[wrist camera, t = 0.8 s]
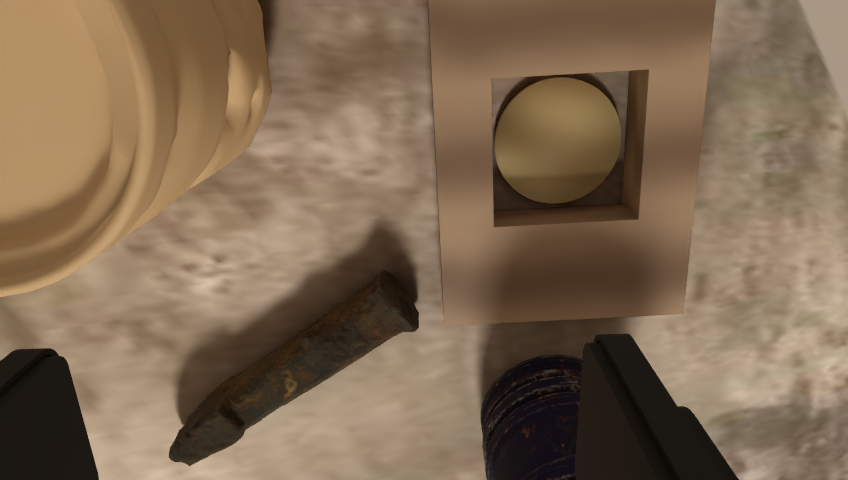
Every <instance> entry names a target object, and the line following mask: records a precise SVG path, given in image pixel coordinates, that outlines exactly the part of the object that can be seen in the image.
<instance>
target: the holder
mask: <svg viewBox="0 0 848 480" xmlns="http://www.w3.org/2000/svg"><path fill="white" fill-rule="evenodd" d="M715 3H716V0H428V16H429V36H430V56H431V75H432V95H433V115H434V135H435V155H436V175H437V195H438V215H439V235H440V254H441V274H442V294H443V311H444V326H455V325H475V324H495V323H515V322H535V321H554V320H574V319H594V318H614V317H634V316H654V315H673V314H683V312H684V302H685V292H686V283H687V273H688V263H689V254H690V244H691V234H692V225H693V215H694V205H695V196H696V186H697V176H698V167H699V157H700V147H701V138H702V128H703V118H704V109H705V99H706V89H707V80H708V70H709V61H710V51H711V41H712V32H713V22H714V12H715ZM614 71H630V74H629V90H628V107H627V124H626V141H625V157H624V174H623V191H622V204H612V205H593V206H575V207H556V208H537V209H519V210H500V211H493V155H492V97H491V79H494V78H511V77H528V76H545V75H563V74H580V73H597V72H614ZM620 147H621V125H620V121H619V117H618V114H617V112H616V110H615V108H614V106H613V105H612V103H611V101H610V100H609V99H608V98H607V97H606V95H605V94H603V93H602V92H601V91H600V90H599V89H597V88H596V87H594V86H593V85H591V84H589V83H586V82H584V81H581V80H578V79H574V78H568V77H554V78H548V79H544V80H540V81H538V82H535V83H533V84H531V85H529V86H527V87H526V88H524V89H523V90H521V91H520V92H519V93H518V94H516V95H515V96H514V97H513V98H512V99H511V101H510V102H509V103H508V104H507V105H506V107H505V109H504V110H503V112H502V114H501V116H500V118H499V120H498V123H497V126H496V130H495V135H494V153H495V158H496V161H497V164H498V167H499V169H500V171H501V173H502V175H503V177H504V178H505V179H506V181H507V182H508V183H509V185H510V186H511V187H512V188H513V189H515V190H516V191H517V192H518V193H520V194H521V195H523V196H525V197H527V198H529V199H531V200H534V201H538V202H542V203H551V204H557V203H565V202H569V201H573V200H576V199H578V198H581V197H583V196H585V195H587V194H588V193H590V192H591V191H593V190H594V189H595V188H597V187H598V186H599V185H600V184H601V183H602V182H603V181H604V180H605V179H606V178H607V176H608V175H609V173H610V172H611V170H612V169H613V167H614V165H615V163H616V160H617V158H618V155H619V151H620Z"/></svg>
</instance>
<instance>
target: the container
mask: <svg viewBox="0 0 848 480" xmlns="http://www.w3.org/2000/svg"><path fill="white" fill-rule="evenodd" d="M271 92H272V89H271V78H270V73H269V67H268V60H267V53H266V47H265V40H264V30H263V13H262V10H261V7H260V4H259V2H258V0H0V297H3V296H9V295H14V294H19V293H24V292H30V291H33V290H36V289H38V288H41V287H44V286H47V285H49V284H52V283H54V282H56V281H58V280H61V279H63V278H65V277H66V276H68V275H70V274H72V273H73V272H75V271H77V270H78V269H80V268H82V267H83V266H85V265H86V264H88V263H89V262H91V261H92V260H93V259H95V258H96V257H97V256H99V255H100V254H101V253H103V252H104V251H106V250H107V249H108V248H110V247H111V246H113V245H114V244H115V243H117V242H118V241H119V240H120V239H121V238H122V237H124V236H125V235H127V234H129V233H131V232H132V231H134V230H135V229H137V228H138V227H140V226H141V225H143V224H144V223H146V222H147V221H148V220H150V219H151V218H153V217H154V216H155V215H157V214H158V213H159V212H161V211H162V210H163V209H165V208H166V207H167V206H168V205H170V204H171V203H172V202H173V201H175V200H176V199H177V198H179V197H180V196H181V195H182V194H183V193H184V192H185V191H186V190H188V189H190V188H192V187H193V186H195V185H197V184H198V183H200V182H202V181H203V180H205V179H206V178H208V177H209V176H211V175H212V174H214V173H215V172H216V171H218V170H219V169H221V168H222V167H223V166H225V165H226V164H228V163H229V162H231V161H232V160H233V159H235V158H236V157H237V156H239V155H240V154H241V153H242V152H244V151H245V150H246V149H247V148H248V147H249V146H250V144H251V142H252V140H253V138H254V136H255V134H256V132H257V130H258V128H259V126H260V124H261V122H262V120H263V118H264V115H265V113H266V110H267V107H268V104H269V101H270V97H271Z"/></svg>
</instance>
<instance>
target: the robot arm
mask: <svg viewBox="0 0 848 480" xmlns="http://www.w3.org/2000/svg"><path fill="white" fill-rule="evenodd" d="M575 475H576V480H738V478H737V477H736V475H735V474H734V472H733V471H732V469H731V468H730V466H729V465H728V463H727V462H726V460H725V459H724V458H723V456H722V455H721V453H720V452H719V450H718V449H717V447H716V446H715V444H714V443H713V441H712V440H711V439H710V437H709V436H708V434H707V433H706V431H705V430H704V428H703V427H702V425H701V424H700V422H699V421H698V419H697V418H696V417H695V415H694V414H693V413H692V412H691V410H690V409H689V408H686V407H684V406H680V407H677V405H676V404H675V402H674V401H673V399H672V398H671V396H670V394H669V393H668V391H667V390H666V388H665V387H664V385H663V384H662V382H661V381H660V379H659V378H658V376H657V375H656V373H655V372H654V370H653V369H652V367H651V365H650V364H649V362H648V361H647V359H646V358H645V356H644V355H643V353H642V352H641V350H640V349H639V347H638V346H637V344H636V343H635V341H634V339H633V338H632V337H631V336H630V334H603V335H596V336H595V339H594V343H586V344H585V346H584V351H583V363H582V376H581V389H580V402H579V415H578V428H577V441H576V454H575ZM0 480H99V477H98V472H97V468H96V464H95V461H94V457H93V453H92V450H91V446H90V443H89V439H88V435H87V432H86V428H85V424H84V421H83V417H82V413H81V410H80V406H79V402H78V399H77V395H76V392H75V388H74V384H73V381H72V377H71V373H70V370H69V366H68V363H67V361H66V359H65V358H64V357H61V356H59V355H58V354H57V352H56V351H55V350H53V349H50V348H49V349H18V350H15V351H13V352H11V353H10V354H9V355H7V356H6V357H5V358H4V359H2V360H1V361H0Z"/></svg>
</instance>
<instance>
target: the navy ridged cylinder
mask: <svg viewBox="0 0 848 480" xmlns="http://www.w3.org/2000/svg"><path fill="white" fill-rule="evenodd" d="M582 363H583V360H582V359H578V358H575V357H570V356H563V355H549V356H541V357H536V358H533V359H529V360H526V361H524V362H522V363H519V364H517V365H515V366H514V367H512V368H511V369H509V370H507V371H506V372H505V373H504V374H503V375H501V376H500V377H499V378H498V379H497V380H496V381H495V383H494V384H493V385H492V386H491V388H490V389H489V391H488V393H487V394H486V397H485V399H484V402H483V405H482V410H481V426H482V433H483V453H484V460H485V467H486V468H485V470H486V478H487V480H576V475H575V454H576V441H577V428H578V415H579V402H580V389H581V376H582Z"/></svg>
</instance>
